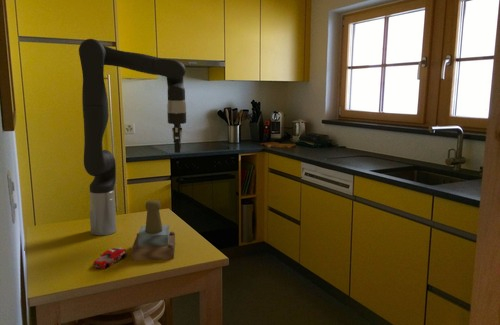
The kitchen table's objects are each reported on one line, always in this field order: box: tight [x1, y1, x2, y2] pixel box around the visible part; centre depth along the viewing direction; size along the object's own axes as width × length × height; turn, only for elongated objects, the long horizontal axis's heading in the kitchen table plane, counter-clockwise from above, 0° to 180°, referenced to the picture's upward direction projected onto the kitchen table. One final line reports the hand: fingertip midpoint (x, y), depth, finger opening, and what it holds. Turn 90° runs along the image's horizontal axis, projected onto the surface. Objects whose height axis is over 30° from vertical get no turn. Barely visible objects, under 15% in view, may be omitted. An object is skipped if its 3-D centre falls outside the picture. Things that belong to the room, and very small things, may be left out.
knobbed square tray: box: [131, 224, 176, 261], centre depth 149 cm, size 14×14×8 cm
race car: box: [92, 247, 128, 270], centre depth 140 cm, size 13×5×4 cm, turn 156°
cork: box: [144, 199, 163, 234], centre depth 147 cm, size 6×6×11 cm
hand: (177, 150), depth 172 cm, fingers open, 8 cm apart
